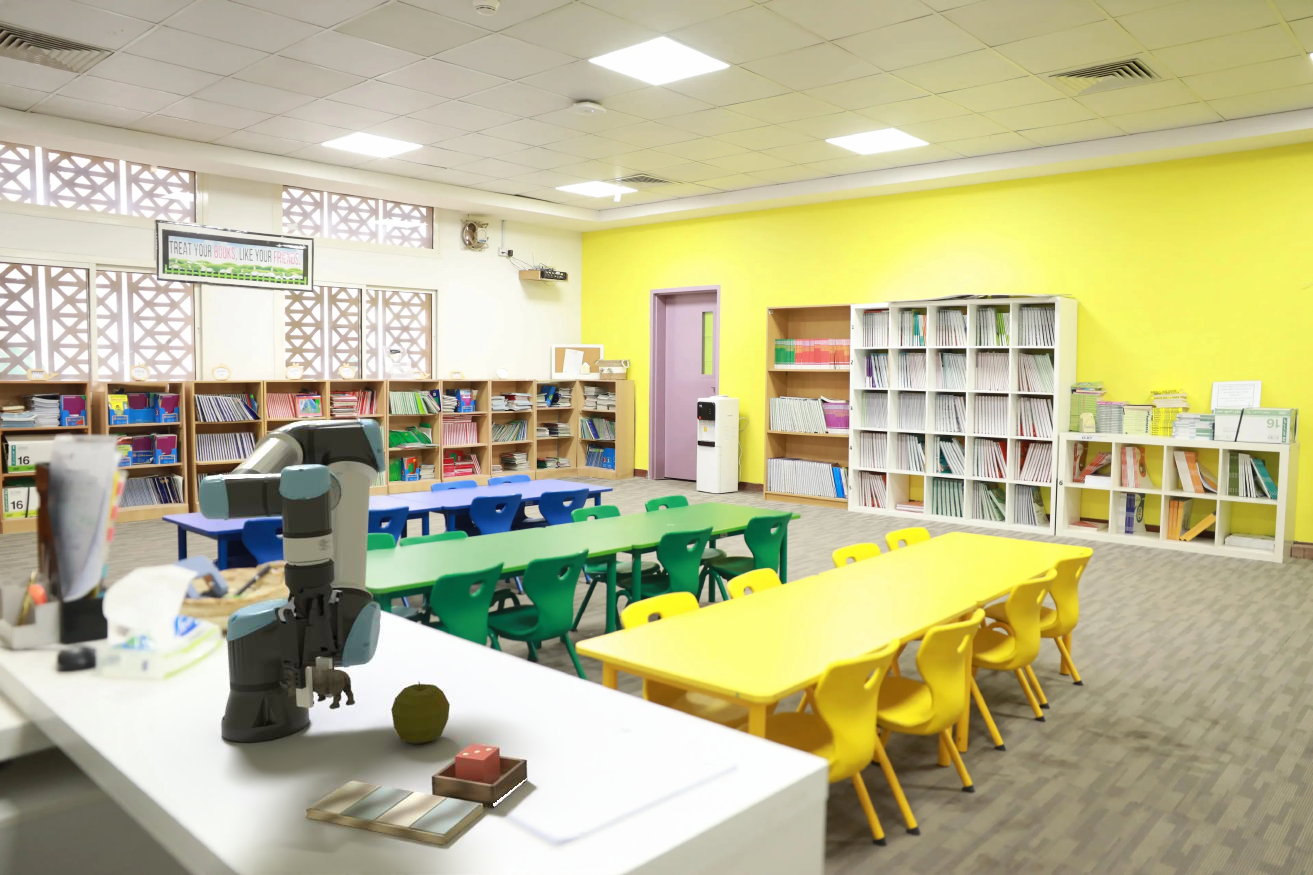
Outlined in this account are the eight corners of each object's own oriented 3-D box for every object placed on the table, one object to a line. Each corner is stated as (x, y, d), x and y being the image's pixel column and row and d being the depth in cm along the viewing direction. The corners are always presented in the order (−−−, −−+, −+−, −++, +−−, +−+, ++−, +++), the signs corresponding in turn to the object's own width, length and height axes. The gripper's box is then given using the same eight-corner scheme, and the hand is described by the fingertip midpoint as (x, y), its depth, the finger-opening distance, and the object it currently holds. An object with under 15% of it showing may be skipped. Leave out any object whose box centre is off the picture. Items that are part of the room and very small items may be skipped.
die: (456, 787, 138) (454, 756, 137) (472, 773, 142) (471, 743, 142) (484, 791, 136) (483, 760, 136) (500, 777, 141) (499, 747, 140)
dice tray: (432, 797, 137) (431, 776, 136) (468, 770, 146) (467, 750, 146) (494, 808, 133) (493, 786, 132) (527, 779, 142) (526, 759, 142)
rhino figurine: (290, 694, 149) (288, 660, 149) (359, 702, 145) (357, 666, 145) (273, 703, 145) (271, 667, 145) (343, 711, 141) (341, 674, 141)
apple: (396, 755, 152) (394, 693, 152) (389, 735, 161) (387, 676, 161) (454, 745, 156) (452, 684, 156) (445, 726, 165) (442, 668, 165)
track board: (306, 817, 131) (306, 808, 131) (352, 787, 140) (352, 779, 140) (443, 844, 122) (443, 834, 122) (483, 811, 132) (482, 802, 132)
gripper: (288, 573, 134) (295, 723, 136) (362, 551, 150) (368, 686, 152) (250, 570, 137) (257, 717, 139) (327, 549, 153) (333, 681, 155)
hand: (315, 700), depth 145 cm, fingers closed on rhino figurine, 4 cm apart
